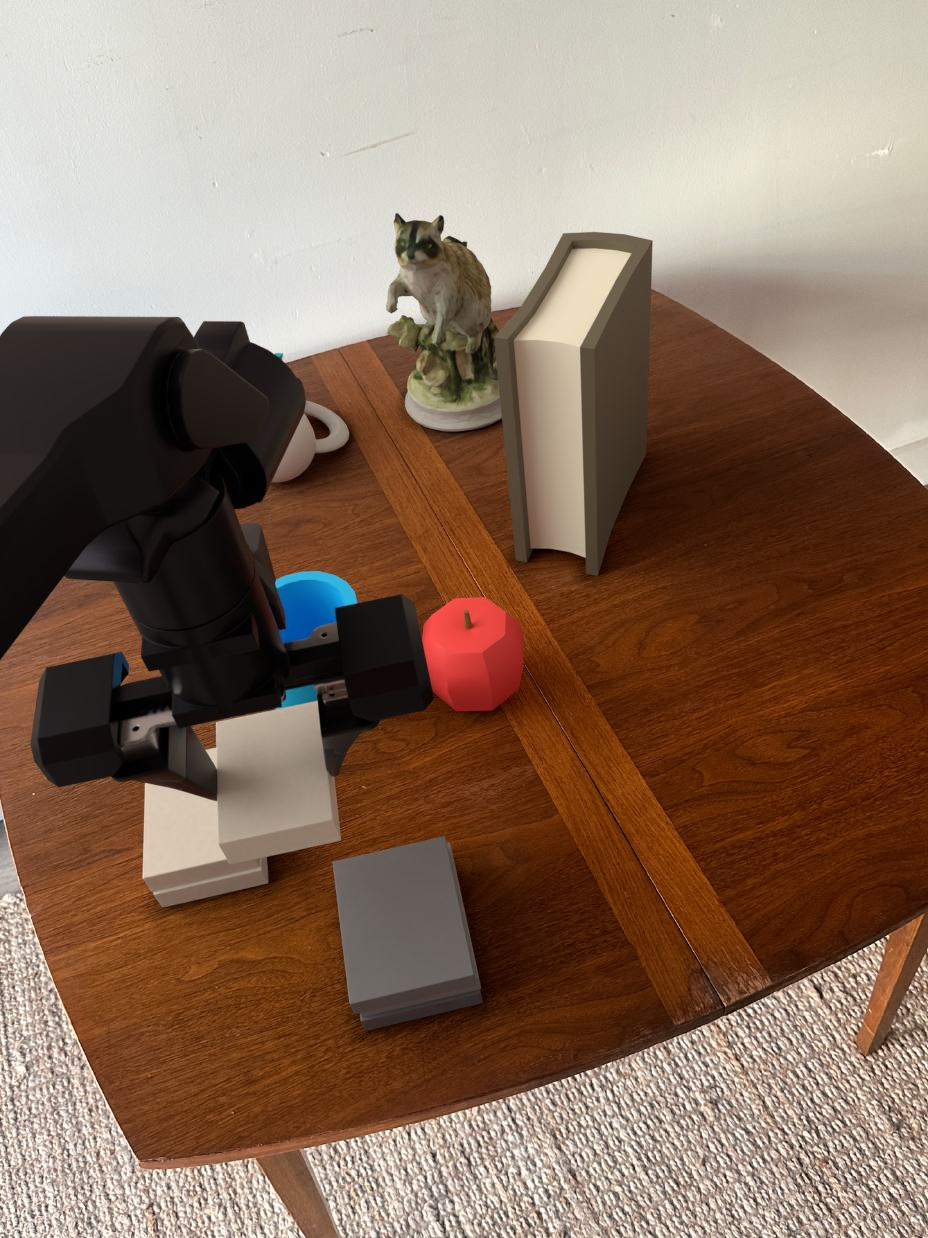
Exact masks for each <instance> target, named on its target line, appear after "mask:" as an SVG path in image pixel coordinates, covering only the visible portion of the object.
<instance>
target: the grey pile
mask: <svg viewBox="0 0 928 1238" xmlns="http://www.w3.org/2000/svg"><path fill="white" fill-rule="evenodd" d="M456 868H457V867H456V864H455V859H454V853H453V849H452V845H451V842H450V841H449V842H447V839H446V836H445V835H443V836H439V837H435V838H430V839H426V840H420V841H417V842H413V843H408V844H404V845H400V846H395V847H391V848H387V849H386V848H385V849H382V850H378V851H374V852H369V853H365V854H360V855H355V856H352V857H348V858H343V859H338V860H334V861H332V869H333V877H334V886H335V893H336V902H337V903H336V904H337V909H338V918H339V919H338V920H339V928H340V937H341V944H342V951H343V952H342V953H343V960H344V961H343V962H344V970H345V978H346V986H347V987H346V988H347V996H348V1002H349V1006H350V1008H351V1010H352V1012H353V1014H354V1015H359V1018H360V1019H359V1020H360V1023H361V1025H362V1027H363V1029H364V1031H365V1032H368V1031H372V1030H376V1029H380V1028H385V1027H388V1026H393V1025H397V1024H401V1023H406V1022H411V1021H415V1020H418V1019H422V1018H426V1017H429V1016H430V1017H431V1016H435V1015H440V1014H443V1013H446V1012H447V1013H448V1012H452V1011H456V1010H461V1009H465V1008H469V1007H472V1006H477V1005H481V1004H483V1002H484V1001H483V997H482V993H481V992H482V991H481V989H482V986H481V981H480V976H479V972H478V967H477V961H476V957H475V953H474V948H473V943H472V940H471V935H470V929H469V925H468V919H467V915H466V910H465V906H464V905H465V904H464V900H463V898H462V891H461V886H460V881H459V877H458V874H457V873H458V872H457V869H456Z"/></svg>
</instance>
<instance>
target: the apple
mask: <svg viewBox="0 0 928 1238" xmlns="http://www.w3.org/2000/svg"><path fill="white" fill-rule="evenodd" d="M421 637H422V641H423V646H424V651H425V656H426V661H427V666H428V671H429V676H430V681H431V685H432V690H433V694H434V695H435V696H437V697H438V698H439V699H441V700H442V701H443V702H444V703H445V704H447V705H448V706H449V708H451V709H453V710H454V711H455V712H478V711H479V712H482V711H483V712H484V711H493V710H495V709H496V708H498V707H499V706H500V705H501V704H502V703H504V702H505V701H506V700H508V699H509V698H510V697H511V696H512V695H514V694H515V693H516V692H517V691H519V690H520V684H521V680H522V674H523V669H524V647H525V645H524V644H525V643H524V642H525V640H524V639H525V633H524V630H523V629H522V626H521V623H520V621H519V620H518V619H517V618H516V617H514V616H513V615H511V614H510V613H508V611H506V610H505V609H503V608H502V607H500V606H499V605H498V604H496V603H495V602H493V601H492V600H490V599H489V598H487V597H485V596H481V597H480V596H479V597H478V596H477V597H454V598H452V599H451V601H448V602H447V603H446V604H445V605H443V606H442V607H441V608H439V609H438V610H436V611H435V612H434V613H432V614H431V615H430V616H429V618H428V619H427V620H426V621H425V622H424V623H423V628H422V635H421Z"/></svg>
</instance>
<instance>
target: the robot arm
mask: <svg viewBox="0 0 928 1238" xmlns="http://www.w3.org/2000/svg"><path fill="white" fill-rule="evenodd" d="M304 387H305V386H304V385H303V381H302V380H301V379H300V378H299V377H297V376H296V374H295V373H294V371H293V370H292V369H291V368H290V367H289V365H288V364H286V362H285V361H284V360H283V358H282V359H280V358H279V357H278V356H276V355H275V353H273V352H272V351H271V350H269V349H268V348H265V347H263V346H261V345H259V344H257V343H255V342H251V341H250V338H249V333H248V330H247V327H246V323H245V322H243V321H241V320H239V321H237V320H232V321H231V320H224V321H223V320H203V321H202V322H201V324H200V326H199V327H198V329H197V331H196V332H195V334H194V335H193V333H192V332H191V330H190V329H189V327H188V326H187V324H186V323H185V321H184V320H183V319H182V318H181V317H180V316H121V315H119V316H117V315H116V316H115V315H114V316H111V315H110V316H108V315H107V316H106V315H105V316H104V315H103V316H102V315H101V316H99V315H96V316H95V315H94V316H93V315H89V316H88V315H28V316H27V315H26V316H25V315H24V316H22V317H20V318H19V317H18V318H17V319H15V320H13V321H12V322H10V323H9V324H8V325H7V326H6V327H5V329H4V330H3V331H2V332H1V333H0V661H1V660H2V659H3V658H4V656H5V655H6V653H7V652H8V651H9V650H10V648H11V647H12V646H13V644H14V643H15V642H16V640H17V639H18V638H19V636H20V635H21V634H22V632H23V631H24V630H25V629H26V627H27V626H28V624H29V623H30V622H31V620H32V619H33V618H34V616H35V615H36V614H37V612H38V611H39V610H40V609H41V607H42V606H43V604H44V603H45V602H46V601H47V600H48V598H49V597H50V595H51V594H52V593H53V591H54V590H55V589H56V587H57V586H58V585H59V584H60V582H61V581H62V579H63V578H65V579H68V580H77V581H78V580H81V581H95V582H96V581H97V582H112V583H113V584H114V587H115V588H116V590H117V592H118V594H119V596H120V597H121V600H122V602H123V603H124V606H125V607H126V609H127V611H128V613H129V615H130V617H131V620H132V621H133V623H134V625H135V627H136V629H137V631H138V633H139V635H140V636H141V644H140V658H141V660H142V662H143V664H144V666H145V668H146V669H147V672H148V673H150V672H154V671H159V674H160V676H154V677H150V678H146V679H141V680H140V679H139V680H136V681H130V682H126V683H124V684H123V682H124V680H125V679H126V678H127V677H128V676H129V674H130V664H129V662H128V660H127V658H126V656H125V654H124V653H123V651H118V652H114V653H110V654H105V655H104V654H103V655H99V656H94V657H90V658H85V659H80V660H75V661H70V662H65V663H61V664H56V665H51V666H47V667H45V669H44V671H43V673H42V674H41V676H40V678H39V680H38V685H37V686H38V687H37V694H36V701H35V708H34V714H33V722H32V729H31V737H30V743H29V745H30V748H31V753H32V757H33V761H34V763H35V764H36V766H37V767H38V769H39V770H40V771H41V773H42V774H43V775H44V777H45V778H46V780H47V781H48V782H50V783H51V784H52V785H54V786H56V787H58V788H63V787H68V786H69V787H70V786H73V785H78V784H83V783H87V782H92V781H97V780H101V779H106V778H107V779H108V778H111V779H112V780H113V781H114V782H116V783H126V782H138V783H143V784H145V783H148V784H153V785H158V786H162V787H167V788H172V789H176V790H179V791H183V792H186V793H190V794H193V795H196V796H199V797H203V798H206V799H209V800H213V801H217V769H216V767H215V765H214V763H213V761H212V760H211V758H210V757H209V755H208V753H207V752H206V750H207V749H206V748H205V747H204V745H203V744H202V742H201V740H200V738H199V737H198V736H197V734H196V732H195V731H194V729H193V726H197V725H201V724H202V725H203V724H207V723H211V722H218V721H223V720H227V719H232V718H237V717H242V716H246V715H251V714H256V713H261V712H266V711H270V710H275V708H279V707H282V702H284V701H285V700H286V690H291V689H295V688H300V687H305V686H310V685H314V687H315V690H316V693H317V701H318V711H319V721H320V730H321V738H322V745H323V752H324V759H325V766H326V770H327V771H328V772H329V774H330V775H331V777H334V778H335V777H337V776H339V773H340V771H341V768H342V766H343V763H344V761H345V758H346V755H347V753H348V751H349V750H350V748H351V747H352V745H353V744H354V743H355V741H356V740H357V739H358V738H359V737H360V735H361V734H362V733H363V732H368V731H371V730H373V729H375V728H377V727H378V725H379V724H380V722H381V720H387V719H390V718H391V719H392V718H395V717H401V716H404V715H409V714H414V713H418V712H423V711H426V709H427V708H428V707H429V706H430V705H431V704H432V702H433V701H434V700H435V694H434V693H433V690H432V685H431V681H430V676H429V671H428V666H427V661H426V656H425V651H424V646H423V641H422V633H421V628H420V627H421V626H420V623H419V622H420V621H419V618H418V613H417V608H416V603H415V602H414V601H412V600H411V599H410V598H408V597H407V596H405V595H404V594H402V593H400V594H396V595H395V594H394V595H390V596H386V597H381V598H376V599H371V600H367V601H361V602H358V603H356V604H351V605H346V606H341V607H336V608H335V614H336V622H335V623H330V624H325V625H322V626H319V627H317V628H315V629H314V630H313V632H312V633H311V635H310V637H308V638H306V639H302V640H297V641H292V642H287V643H283V641H282V638H281V635H280V633H279V631H280V630H285V629H286V619H285V611H284V608H283V605H282V602H281V599H280V597H279V594H278V591H277V588H276V585H275V582H276V580H277V577H276V574H275V571H274V567H273V563H272V560H271V556H270V553H269V548H268V545H267V542H266V539H265V534H264V531H263V527H262V525H261V524H259V523H256V522H248V523H240V521H239V518H238V515H237V512H236V510H241V509H242V510H243V509H246V508H249V507H252V506H253V505H256V504H258V503H262V502H263V500H264V499H265V497H266V494H267V492H268V489H269V488H270V487H271V484H272V483H273V482H272V480H273V478H274V475H275V473H276V471H277V469H278V467H279V465H280V463H281V461H282V459H283V456H284V454H285V452H286V450H287V448H288V446H289V444H290V442H291V440H292V437H293V435H294V433H295V431H296V429H297V427H298V425H299V423H300V421H301V418H302V416H303V414H304V410H305V405H306V401H307V400H306V399H307V398H306V390H305V388H304Z"/></svg>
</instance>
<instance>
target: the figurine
mask: <svg viewBox="0 0 928 1238" xmlns="http://www.w3.org/2000/svg"><path fill="white" fill-rule="evenodd" d="M393 226H394V232H395V241H394V244H393V251H394V254H395V257H396V259H397V263H398V265H399V272H398V274H397V276H396V278H395V279H394V280H393V281H392V282H391V283H390V284H389V286H388V289H387V295H386V297H387V298H386V305H385V310H386V311H387V312H388V313H390V314H393V313H395V312H397V311H398V304H399V298H400V297H412V298H414V299H415V300H416V301H417V302H418V306H419V313H420V314H421V316H422V317H423V319H424V320H425V324H424V323H421V324H419V323H416V322H415V319H414V317H412V316H406V315H405V314H401V317H399V320H396V321H395V322H393V323H391V324H390V325H389V327H388V328H387V330H386V335H388V336H391V337H394V338H395V339H398V347H399V348H403V349H407V350H410V349H411V350H412V352H413V353H416V352H417V351H418V350H419V348H420V353H419V355H418V356H417V357H416V360H415V364H414V366H413V368H412V371H411V373H410V374H409V376H408V379H407V385H406V388H407V392H406V394H405V397H404V406H405V410H406V413H407V414H408V415H409V417H410V418H411V419H412V420H414V421H415V422H416V423H417V424H419V425H421V426H422V427H424V428H428V429H430V430H431V429H432V430H436V431H440V432H450V433H451V432H465V431H471V430H477V429H481V428H485V427H487V426H491V425H493V424H494V423H496V422H498V421H500V420H502V415H501V404H500V394H499V384H498V373H497V363H496V353H495V342H494V337H495V336H496V335H497V333H498V332H499V331H500V330H499V328H498V327H497V325H496V323H495V321H494V320H493V318H492V317H491V315H492V284H491V280H490V276H489V275H488V273H487V271H486V268H485V266H484V265H483V263H482V262H481V261H480V260H479V259H478V257H477V255H476V254H475V253H474V252H473V251H472V250H471V249H470V248H468V241H466V240H465V241H461V240H460V239H458V238H456V237H454V236H451V235H448V236H446V237H444V238H443V239H442V236H441V235H442V233H443V232H444V228H445V218H444V216H443V215H442V214H439V215H438V216H437V217H436V218H435V219H434V220H433V221H432V222H431V221H427V220H419V219H418V220H417V219H413V220H409V221H406V220H405V219H404V218H403V217H402V216H401V214H399V213H398V212H396V213H395V214H394V220H393Z"/></svg>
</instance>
